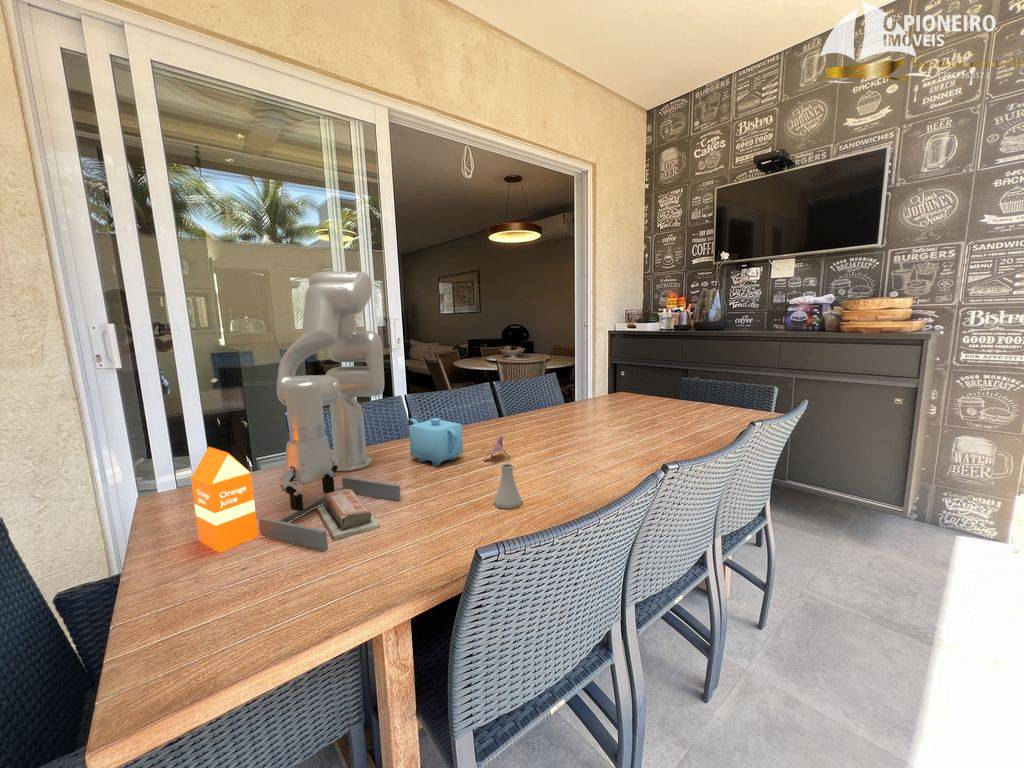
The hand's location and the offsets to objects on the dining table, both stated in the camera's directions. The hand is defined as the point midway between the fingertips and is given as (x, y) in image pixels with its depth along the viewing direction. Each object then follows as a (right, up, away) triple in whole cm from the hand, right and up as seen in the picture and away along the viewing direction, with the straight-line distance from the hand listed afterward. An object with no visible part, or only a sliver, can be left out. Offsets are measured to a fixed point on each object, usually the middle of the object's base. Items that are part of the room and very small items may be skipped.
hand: (313, 501), depth 103 cm
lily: (+43, +3, +38) cm, 57 cm away
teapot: (+22, +3, +39) cm, 45 cm away
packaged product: (+9, -4, -3) cm, 10 cm away
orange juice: (-13, -5, -12) cm, 18 cm away
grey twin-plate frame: (+6, -3, -2) cm, 7 cm away
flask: (+47, -2, +4) cm, 47 cm away
